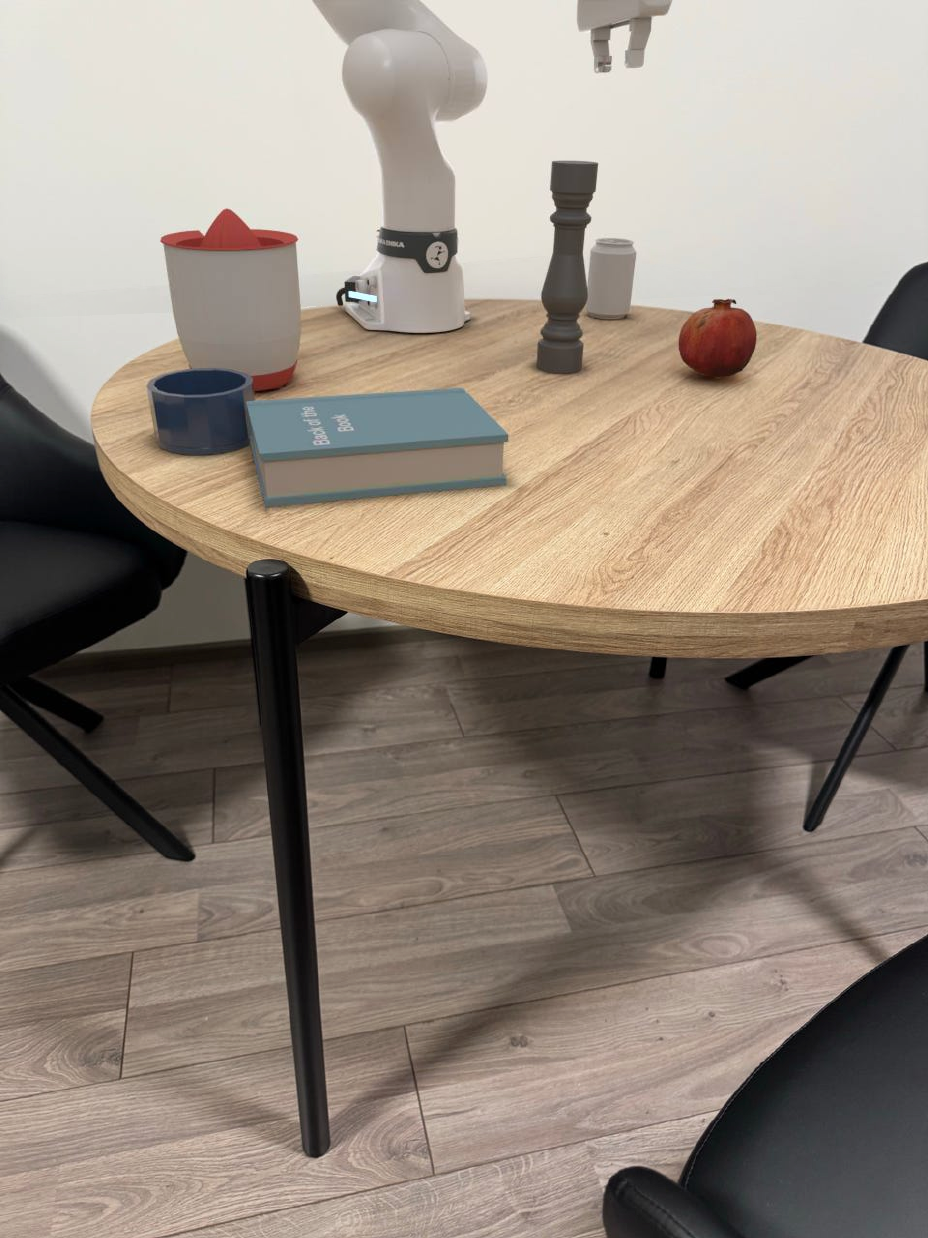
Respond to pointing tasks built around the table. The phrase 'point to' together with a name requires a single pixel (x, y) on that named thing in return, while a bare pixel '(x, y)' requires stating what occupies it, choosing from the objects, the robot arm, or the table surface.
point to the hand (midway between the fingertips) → (617, 70)
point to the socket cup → (201, 410)
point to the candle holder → (566, 267)
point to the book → (373, 445)
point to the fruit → (718, 340)
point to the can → (610, 278)
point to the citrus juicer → (236, 299)
